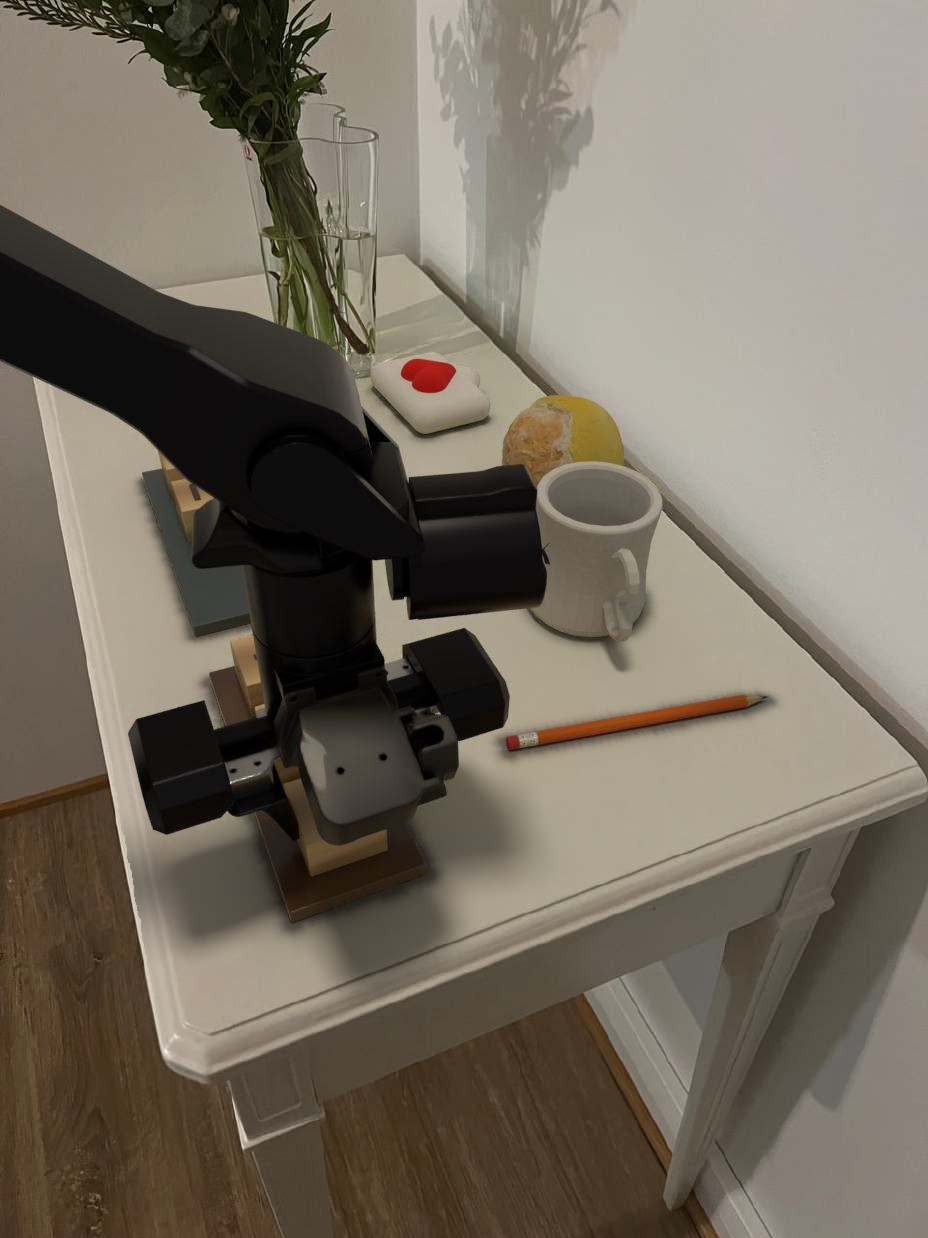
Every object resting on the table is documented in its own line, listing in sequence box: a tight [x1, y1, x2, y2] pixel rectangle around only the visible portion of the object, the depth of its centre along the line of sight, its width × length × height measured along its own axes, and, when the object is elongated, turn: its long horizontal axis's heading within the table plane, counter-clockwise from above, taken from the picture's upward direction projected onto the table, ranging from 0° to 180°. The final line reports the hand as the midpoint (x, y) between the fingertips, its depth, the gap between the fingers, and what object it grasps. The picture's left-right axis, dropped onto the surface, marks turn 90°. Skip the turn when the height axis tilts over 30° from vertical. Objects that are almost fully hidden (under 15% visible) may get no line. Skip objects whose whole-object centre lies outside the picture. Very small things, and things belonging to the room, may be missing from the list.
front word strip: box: [208, 634, 427, 923], centre depth 58 cm, size 20×8×4 cm, turn 24°
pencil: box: [505, 694, 770, 751], centre depth 63 cm, size 1×19×1 cm, turn 105°
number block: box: [284, 779, 388, 877], centre depth 53 cm, size 5×5×3 cm
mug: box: [530, 461, 663, 643], centre depth 68 cm, size 12×9×10 cm
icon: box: [370, 351, 491, 435], centre depth 94 cm, size 12×4×10 cm
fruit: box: [501, 394, 625, 488], centre depth 78 cm, size 10×11×10 cm
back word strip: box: [141, 450, 251, 637], centre depth 76 cm, size 22×8×4 cm, turn 24°
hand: (335, 820), depth 54 cm, fingers closed on number block, 4 cm apart
